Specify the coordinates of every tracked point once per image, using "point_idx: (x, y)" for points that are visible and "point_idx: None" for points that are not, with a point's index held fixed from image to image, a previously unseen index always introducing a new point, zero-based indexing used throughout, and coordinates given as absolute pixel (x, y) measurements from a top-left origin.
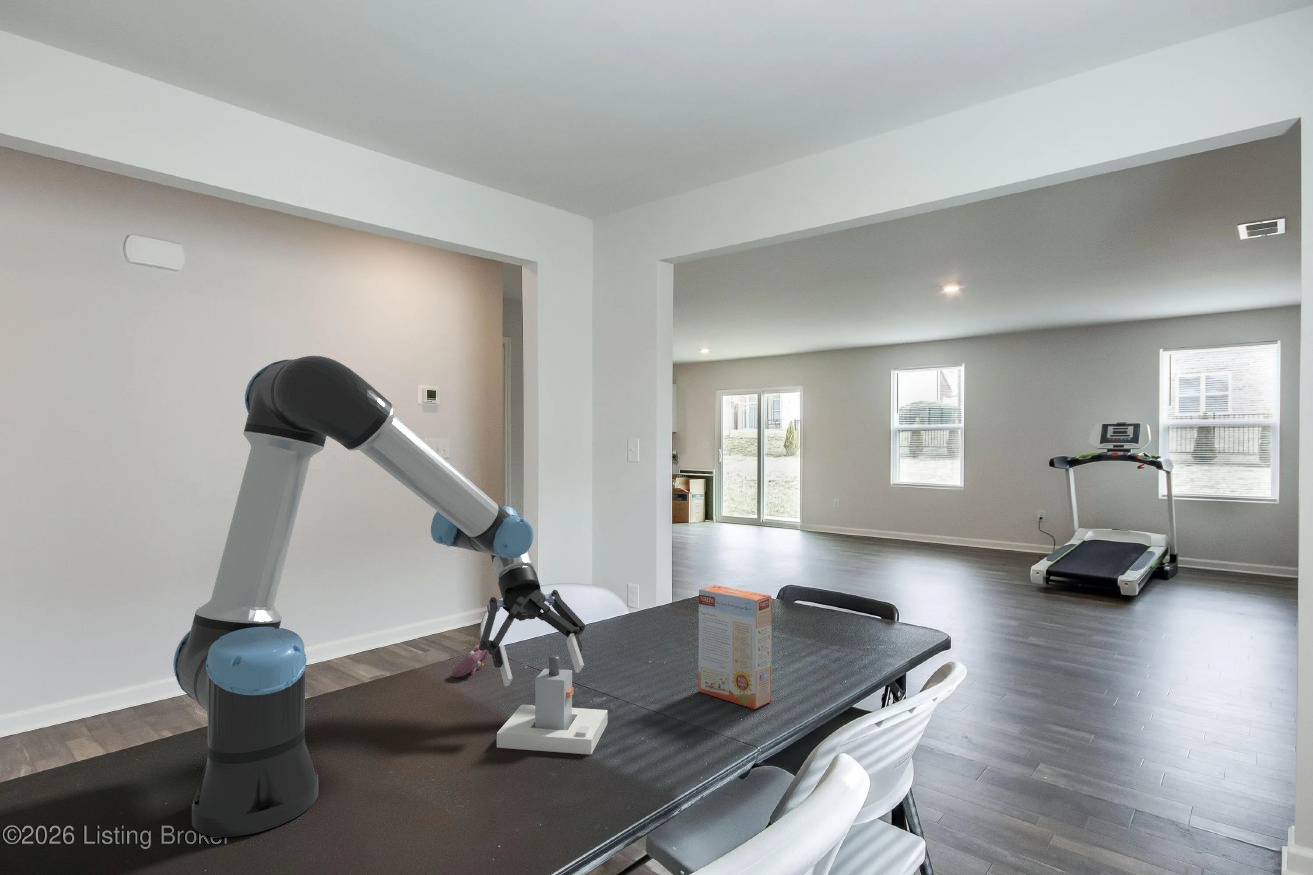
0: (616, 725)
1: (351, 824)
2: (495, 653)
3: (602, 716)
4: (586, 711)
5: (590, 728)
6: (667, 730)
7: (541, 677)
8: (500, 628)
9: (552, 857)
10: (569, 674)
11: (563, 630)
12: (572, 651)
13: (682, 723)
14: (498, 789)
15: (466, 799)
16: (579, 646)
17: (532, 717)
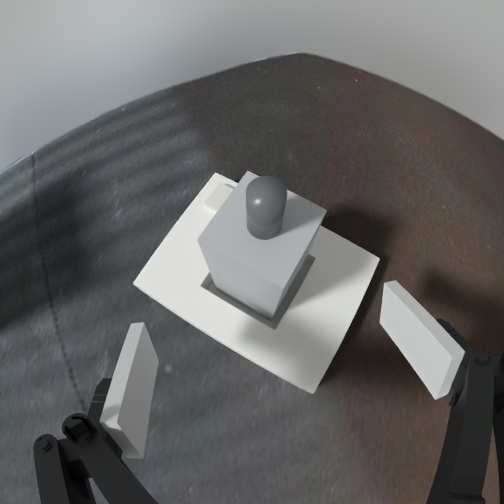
0: (131, 276)
1: (483, 159)
2: (461, 341)
3: (155, 256)
4: (176, 295)
5: (199, 212)
6: (74, 225)
7: (307, 212)
8: (491, 416)
9: (313, 58)
10: (215, 216)
11: (136, 480)
12: (140, 391)
13: (45, 240)
14: (364, 151)
15: (398, 148)
16: (107, 387)
17: (302, 308)
